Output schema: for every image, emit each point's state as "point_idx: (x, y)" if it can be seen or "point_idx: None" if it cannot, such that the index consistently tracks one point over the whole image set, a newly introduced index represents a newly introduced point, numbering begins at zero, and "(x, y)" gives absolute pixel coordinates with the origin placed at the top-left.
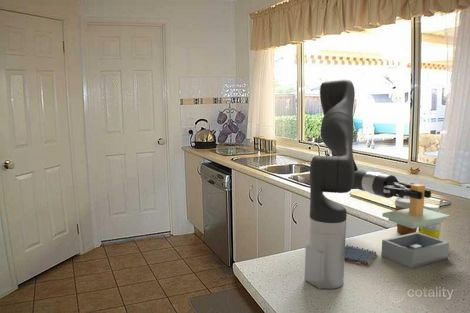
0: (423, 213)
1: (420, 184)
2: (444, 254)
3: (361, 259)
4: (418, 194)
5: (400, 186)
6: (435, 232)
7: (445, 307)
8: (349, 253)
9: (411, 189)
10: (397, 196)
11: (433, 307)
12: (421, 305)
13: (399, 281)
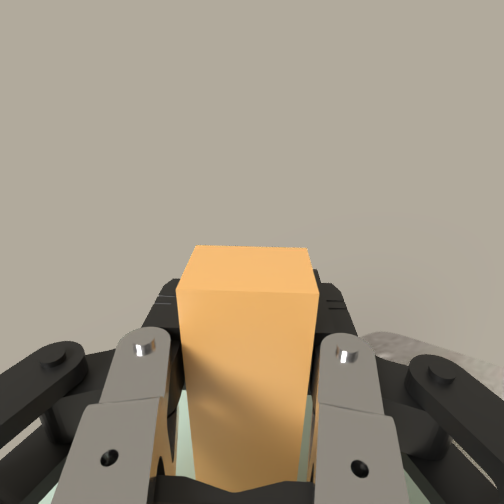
0: (176, 461)
1: (193, 268)
2: None
3: None
4: (325, 291)
5: (398, 458)
6: None
7: (417, 342)
8: None
9: (312, 333)
10: (474, 477)
11: (443, 350)
12: (467, 363)
13: (471, 460)
